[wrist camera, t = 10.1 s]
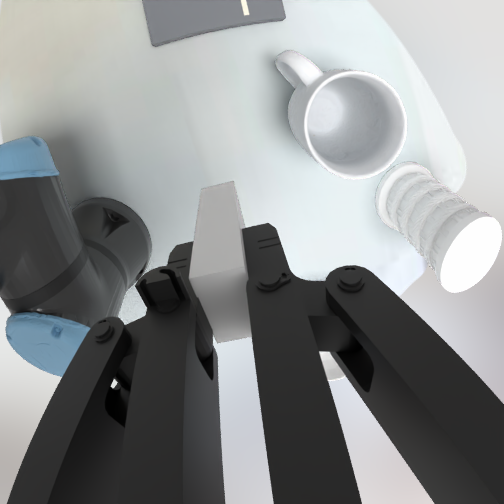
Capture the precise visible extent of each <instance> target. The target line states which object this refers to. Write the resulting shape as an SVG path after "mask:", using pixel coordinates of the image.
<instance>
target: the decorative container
mask: <svg viewBox="0 0 504 504" xmlns="http://www.w3.org/2000/svg"><path fill="white" fill-rule="evenodd" d="M375 206H376V210H377V213H378V215H379V217H380V218H381V220H382V221H383V222H384V223H385V224H386V225H388V226H389V227H390V228H393V229H395V230H398V231H399V232H400V233H402V234H403V235H404V236H405V238H406V239H407V241H409V243H410V244H412V245H413V246H414V247H415V249H416V250H417V251H418V253H420V255H421V256H423V257H424V258H425V259H426V261H427V263H428V264H429V265H430V267H432V269H434V270H435V274H436V277H437V279H438V281H439V282H440V284H441V285H442V286H443V287H444V288H445V289H446V290H447V291H450V292H453V293H454V292H461V291H464V290H466V289H469V288H470V287H471V286H473V285H475V284H476V283H477V282H478V281H479V280H481V279H482V278H483V277H484V275H485V274H486V273H487V272H488V271H489V269H490V268H491V266H492V264H493V263H494V261H495V259H496V257H497V255H498V252H499V249H500V245H501V238H502V233H501V227H500V225H499V223H498V221H497V220H495V219H494V218H493V217H492V216H490V215H489V214H488V213H486V212H480V211H478V209H477V208H476V207H474V206H473V205H471V204H468V203H466V202H465V201H464V199H463V198H462V197H461V196H459V195H458V194H455V193H452V191H451V190H450V189H449V188H448V187H446V186H445V185H443V184H440V183H439V182H438V181H437V180H436V179H434V178H433V175H432V174H431V173H430V172H429V170H428V169H426V168H425V167H423V166H421V165H420V164H418V163H414V162H404V163H400V164H398V165H396V166H394V167H393V168H391V169H390V170H389V171H388V172H387V173H386V174H385V175H384V177H383V178H382V179H381V181H380V183H379V185H378V187H377V191H376V196H375Z"/></svg>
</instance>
